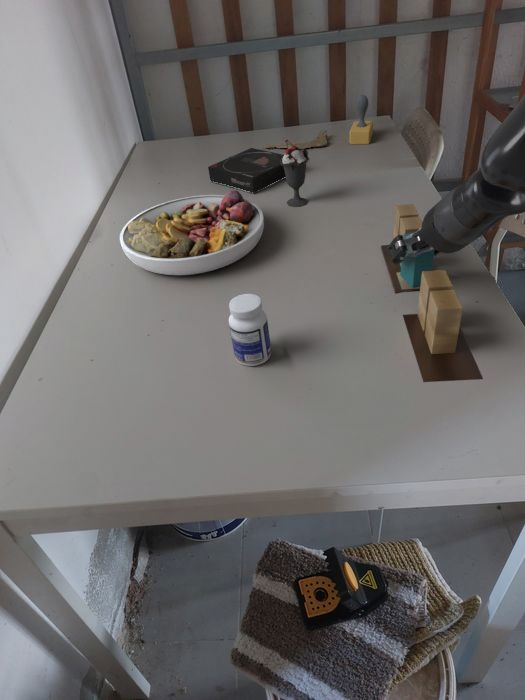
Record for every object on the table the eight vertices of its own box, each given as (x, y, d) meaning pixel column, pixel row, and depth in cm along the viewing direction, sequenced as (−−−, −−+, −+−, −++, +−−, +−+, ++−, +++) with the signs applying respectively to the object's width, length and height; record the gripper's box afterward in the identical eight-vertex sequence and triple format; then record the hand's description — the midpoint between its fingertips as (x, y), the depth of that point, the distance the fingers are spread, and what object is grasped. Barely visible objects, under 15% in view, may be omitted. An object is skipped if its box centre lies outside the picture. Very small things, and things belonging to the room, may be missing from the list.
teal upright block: (417, 271, 93) (421, 230, 88) (430, 283, 89) (435, 241, 84) (400, 275, 92) (403, 234, 87) (412, 288, 89) (416, 246, 84)
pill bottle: (251, 339, 83) (243, 287, 77) (279, 351, 80) (273, 298, 74) (227, 359, 80) (217, 306, 74) (255, 372, 77) (247, 318, 71)
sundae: (279, 207, 121) (274, 142, 112) (287, 196, 126) (283, 132, 117) (306, 209, 119) (303, 142, 110) (314, 197, 124) (311, 132, 115)
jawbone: (337, 146, 152) (337, 139, 150) (270, 160, 149) (269, 153, 148) (326, 135, 158) (326, 128, 157) (262, 148, 155) (261, 141, 154)
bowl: (186, 300, 94) (177, 262, 89) (99, 255, 112) (87, 221, 107) (294, 235, 110) (292, 200, 105) (203, 204, 127) (197, 173, 122)
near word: (452, 314, 83) (460, 267, 78) (482, 382, 71) (494, 332, 65) (402, 317, 84) (406, 271, 78) (422, 385, 71) (429, 336, 66)
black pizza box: (298, 171, 138) (297, 156, 136) (254, 194, 129) (252, 178, 127) (254, 161, 148) (253, 147, 145) (210, 181, 139) (208, 166, 136)
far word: (421, 244, 102) (426, 202, 96) (443, 292, 88) (449, 247, 83) (380, 247, 102) (382, 206, 97) (395, 295, 89) (398, 250, 83)
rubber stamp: (369, 144, 149) (370, 99, 142) (349, 144, 151) (349, 100, 143) (372, 133, 156) (374, 90, 149) (353, 133, 158) (354, 90, 150)
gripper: (497, 183, 74) (444, 226, 91) (405, 203, 72) (367, 243, 89) (513, 232, 74) (456, 266, 90) (421, 254, 72) (380, 284, 88)
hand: (412, 254), depth 89 cm, fingers open, 6 cm apart
